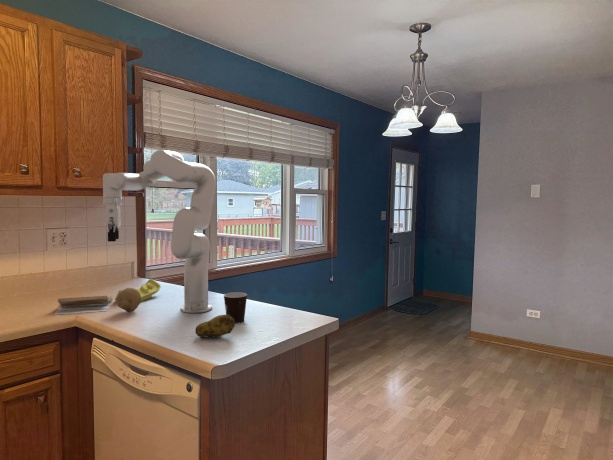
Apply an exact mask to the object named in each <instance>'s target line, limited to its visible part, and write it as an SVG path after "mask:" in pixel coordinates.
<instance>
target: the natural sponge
mask: <svg viewBox="0 0 613 460" xmlns="http://www.w3.org/2000/svg"><path fill="white" fill-rule="evenodd" d="M122 290H123V291H121V292H120V293H119V295H118V297H117V301H116V304H117V307H119V308H120V309H121V310H124V311H125V312H127V313H133V312H134V311H136V310H137V308H139V305H140V303H141V302H142V301H141V294H140V293H139V291H137V290H136V288H133V287H127V288H124V289H122ZM140 301H141V302H140Z"/></svg>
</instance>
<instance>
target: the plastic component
mask: <svg viewBox="0 0 613 460" xmlns="http://www.w3.org/2000/svg"><path fill="white" fill-rule="evenodd" d="M161 287H162V286H161V284H160V283H159V282H157V281H156V280H154V279H152V278H150V279H148V280H147V281H146V282H145V283H144V284H142V285H141V286H140V287H138V288H137V289H136V288H135V289H136V290H137V291H139V293H140V294H141V301H140V303H141V302H143V301H145V300H148V299H151V298H152V297H153V295H155V294H158V292H159V291H160V290H161ZM123 290H124V289H120V290H119V291H118V292H117V294H116V296H115V298H114V301H115V302H117V297H118V295H119V293H120V292H121V291H123Z"/></svg>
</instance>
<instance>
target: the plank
mask: <svg viewBox="0 0 613 460" xmlns="http://www.w3.org/2000/svg"><path fill="white" fill-rule="evenodd" d="M108 297H109V296H108V295H97V296H94V295H93V296H82V297H81V296H80V297H63V298H61V297H60V298H57V303H59V305H60V307H61V306H62V307H63V306H78V305H93V304H108V303H109V299H108Z"/></svg>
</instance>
